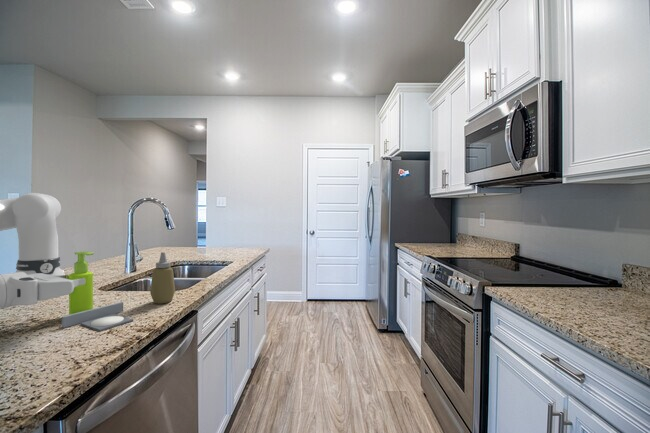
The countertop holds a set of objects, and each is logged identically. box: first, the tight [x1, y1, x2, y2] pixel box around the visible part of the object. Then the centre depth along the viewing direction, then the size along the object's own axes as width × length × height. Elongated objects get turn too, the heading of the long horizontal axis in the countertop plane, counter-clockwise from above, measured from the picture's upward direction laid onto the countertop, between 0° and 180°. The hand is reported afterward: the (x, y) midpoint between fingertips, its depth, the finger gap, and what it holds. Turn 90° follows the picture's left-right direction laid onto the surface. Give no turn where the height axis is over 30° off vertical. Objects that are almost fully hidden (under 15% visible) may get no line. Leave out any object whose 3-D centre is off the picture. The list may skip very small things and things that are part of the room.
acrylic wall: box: [61, 301, 124, 329], centre depth 93 cm, size 1×16×3 cm, turn 153°
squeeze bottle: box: [149, 251, 176, 305], centre depth 110 cm, size 8×8×18 cm
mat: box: [80, 313, 134, 332], centre depth 89 cm, size 10×9×1 cm
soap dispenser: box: [68, 251, 95, 315], centre depth 96 cm, size 6×7×20 cm
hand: (76, 279), depth 94 cm, fingers open, 8 cm apart
